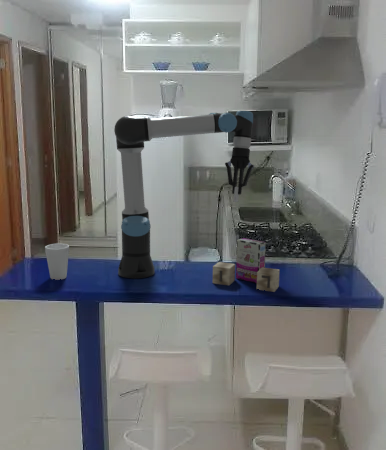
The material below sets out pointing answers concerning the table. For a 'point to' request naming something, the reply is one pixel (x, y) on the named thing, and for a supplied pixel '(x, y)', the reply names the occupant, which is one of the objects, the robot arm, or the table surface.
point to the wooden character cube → (223, 273)
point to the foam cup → (57, 260)
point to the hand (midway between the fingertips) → (235, 201)
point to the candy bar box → (249, 259)
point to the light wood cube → (268, 279)
